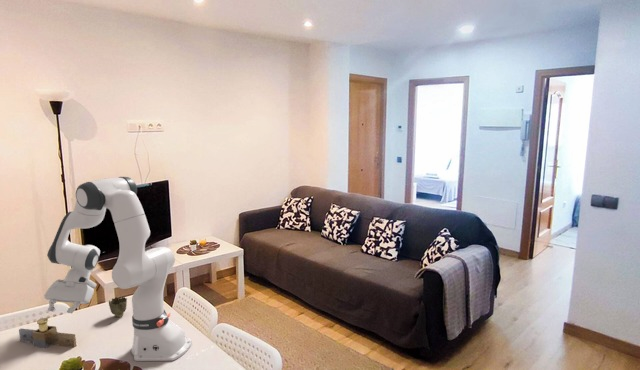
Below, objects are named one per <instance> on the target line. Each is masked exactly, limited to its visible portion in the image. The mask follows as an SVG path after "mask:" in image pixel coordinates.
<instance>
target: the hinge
mask: <svg viewBox="0 0 640 370" xmlns="http://www.w3.org/2000/svg"><path fill="white" fill-rule="evenodd" d="M47 326H48V331H46V332H45V333H41V332H39V328H37V329H30V328H20V329H19V328H18V333H19V341H20V342H25V343H26V342H27V343H33V347H37V348H45V349H46V348H48V347H49V346H51V345H53V346H60V347H61V346H62V347H70V348H75V347H77V340H76V339H77V338H76V334H75V333H66V332H58V331H57V326H53V325H47Z"/></svg>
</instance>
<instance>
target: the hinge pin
mask: <svg viewBox="0 0 640 370" xmlns="http://www.w3.org/2000/svg"><path fill="white" fill-rule="evenodd" d="M48 322H49V318H48V317H42V318H39V319H38V320H36V323H37V325H38V329H39V332H41V333H45V332H46V331H48V326H49V325H48Z"/></svg>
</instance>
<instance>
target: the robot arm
mask: <svg viewBox="0 0 640 370" xmlns="http://www.w3.org/2000/svg"><path fill="white" fill-rule="evenodd" d="M137 194H138V187H137V184H136V182H135V181H134V180H133V178H131V177H129V176H118V177H111V178H109V177H108V178H101V179H96V180H93V181H86V182H83V183H81V184H79V185H78V186H77V188H76V191H75V199H76V200H75V205H74V209H73V210H72V211H69V212H67V213H66V214H65V215H64V216H63V218H62V220H61V222H60V224H59V227H58V229H57V231H56V233H55V235H54V239H53V242H52V243H51V245H50V247H49V249H48V251H47V259H48V260H49V261H50V263H51V264H56V265H57V264H58V265H63V266H67V267H71V268H70V269H68V272H67V273H66V275H65V276H64V279H61V278H60V279H57V280H54V281H53V282H52V284H51V285H50V286H49V287H48V289H47V290H46V292H45V293H44V295H43V296H44V299H45V300H47V301H48V303H49V305H48V308H47V311H48V312H54V311H55V310H56V307H55V304H56V303H57V302H62V303H70V304H71V303H72V305H71V306H70V307H68V309H67V311H66V313H67V314H73V313H74V311H75V310H76V309H77V308H78V307H80V304H82V305H83V304H84V305H87V304H89V302H90V301H91V300H92V298H93V295H94V292H95V289H96V288H97V283H96V282H94V281H93V280H91V279H90V277H91V273H93V270H94V269H95V268H96V266H97V264H98V262H99V259H100V254H101V250H100V248H98V247H97V246H95V245H93V244H85V245H83V244H79V243H74V242H71V241H70V240H68V238H69V235H70V233H71V231H72V230H74V229H77V230H79V229H90V228H93V227H94V228H95V227H97V226H98V225H100V224H101V223H102V221H104V219H105V215H106V212H107V210H109V212H110V215H111V218H112V221H113V223H114V227H115V231H116V234H117V237H118V242H119V253H118V257H117V261H116V263H115V265H114V266H113V268H112V270H111V279H112V281H113V283H114V285H115V286H116V287H117V288H119V289H122V290H124V289H125V290H126V289H132V288H135V287H136V288H137V289H135V291H134V292H133V295H132V298H131V307H132V308H131V309H132V317H131V321H132V322H131V323H132V327H133V338H132V339H133V341H132V347H131V350H130V351H131V354H132V355H133V360H134V361H135V362H150V361H151V362H154V361H155V362H156V361H157V362H161V361H163V362H165V361H166V362H167V361H175V360H178V359H179V358H180V357H182V356H183V355H184V354H185V353H186V352H187V351H188V350H189V349H190V348H191V346H192V344H193V342H192V338H189V337H186V335H185V331H184V329H183V328H182V327H180V326H179V325H177V324H176V323H174V322H173V321H172V320H171V319H170V317H171V312H169V313H168V314H167V312H166V310H165V306H164V305H165V304H164V289H165V284H166V281H167V277H168V276H169V274H170V271H171V269H172V268H173V266H174V265H175V262H176V260H175V259H176V258H175V254H174V253H173V251H172V250H171V249H170V248H169V247H167V246H159V247H153V248H150V249H147V250H146V243H147V241H148V240H149V238H150V236H151V230H150V225H149V223H148V219H147V216H146V214H145V211H144V208H143V205H142V203H141V201H140V200H139V197H138V196H137Z"/></svg>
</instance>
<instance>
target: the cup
mask: <svg viewBox="0 0 640 370" xmlns="http://www.w3.org/2000/svg"><path fill="white" fill-rule="evenodd" d="M127 300H128V298H127V297H126V296H122V297H121V296H119V297H116V296H115V297H114V298H111V300H109V301H108V306H109V310H110V312H111V313H112V314H113V315H114V317H115V318H116V319H117V318H122V317H123V316H124V314H125V312H126V310H127V306H128V305H127V303H128V302H127Z"/></svg>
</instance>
